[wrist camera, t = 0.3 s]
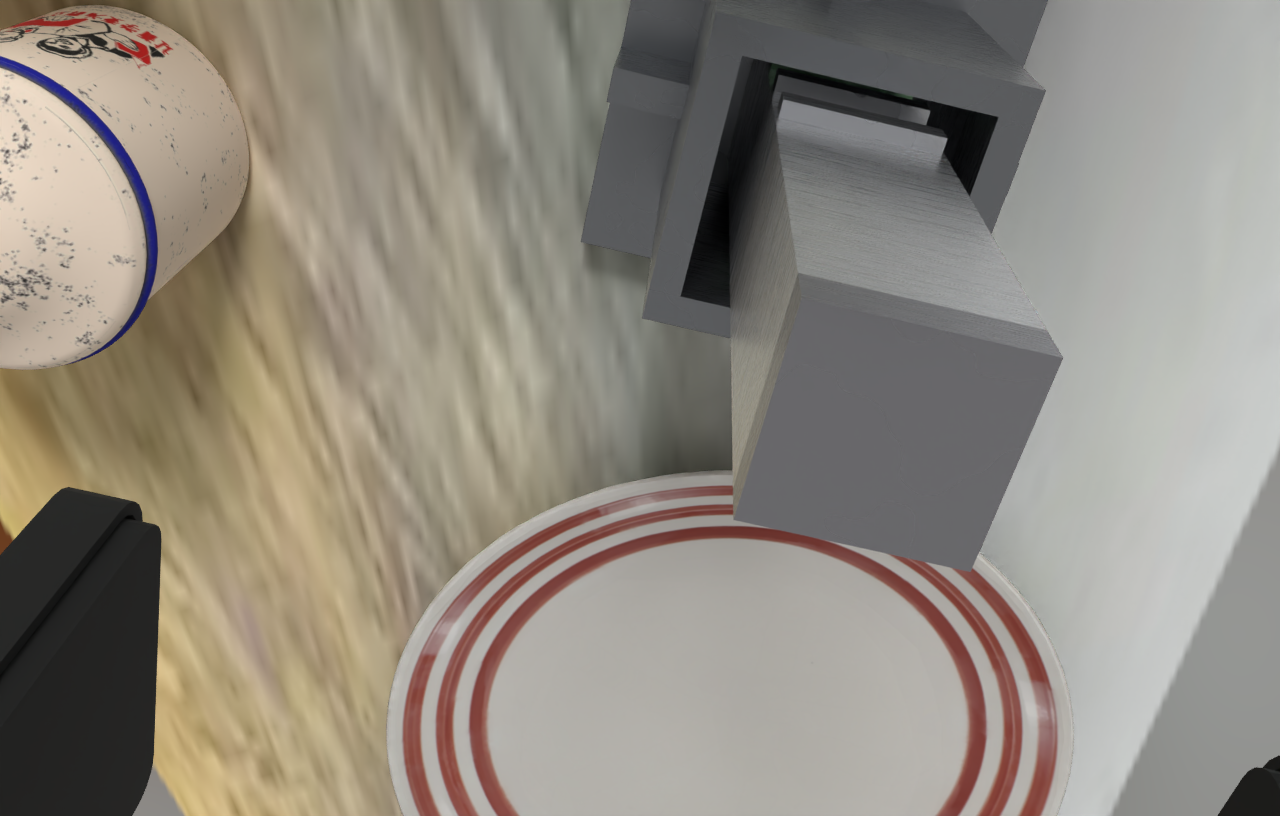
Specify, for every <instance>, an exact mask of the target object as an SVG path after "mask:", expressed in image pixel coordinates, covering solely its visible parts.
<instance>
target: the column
mask: <svg viewBox="0 0 1280 816" xmlns="http://www.w3.org/2000/svg"><path fill="white" fill-rule="evenodd" d="M912 98H913V96H908V95H904V94H900V93H896V92H892V91H888V90H883V89H879V88H875V87H871V86H867V85H862V84H858V83H854V82H850V81H846V80H842V79H837V78H833V77H829V76H825V75H821V74H816V73H812V72H808V71H804V70H800V69H796V68H791V67H787V66H783V65H779V64H775V63H770V62H766V61H762V60H758V59H753V62H752V66H751V70H750V74H749V78H748V82H747V86H746V89H745V93H744V97H743V101H742V105H741V109H740V112H739V116H738V120H737V124H736V128H735V132H734V135H733V139H732V143H731V147H730V151H729V155H728V182H729V188H728V197H729V257H730V321H731V391H732V461H733V520H736V521H741V522H745V523H750V524H754V525H759V526H763V527H768V528H772V529H777V530H782V531H786V532H791V533H795V534H800V535H804V536H809V537H813V538H818V539H822V540H827V541H832V542H836V543H841V544H845V545H850V546H854V547H859V548H863V549H868V550H872V551H877V552H882V553H886V554H891V555H895V556H900V557H904V558H909V559H913V560H918V561H922V562H927V563H932V564H936V565H941V566H945V567H950V568H954V569H959V570H963V571H968V572H971V570H972V567H973V565H974V563H975V560H976V558H977V556H978V554H979V551H980V549H981V547H982V544H983V542H984V540H985V537H986V535H987V533H988V530H989V528H990V526H991V523H992V521H993V519H994V517H995V514H996V512H997V510H998V507H999V505H1000V503H1001V500H1002V498H1003V496H1004V493H1005V491H1006V489H1007V486H1008V484H1009V482H1010V479H1011V477H1012V475H1013V473H1014V470H1015V468H1016V466H1017V463H1018V461H1019V459H1020V456H1021V454H1022V452H1023V449H1024V447H1025V445H1026V442H1027V440H1028V438H1029V436H1030V433H1031V431H1032V429H1033V426H1034V424H1035V422H1036V419H1037V417H1038V415H1039V412H1040V410H1041V408H1042V405H1043V403H1044V401H1045V398H1046V396H1047V394H1048V392H1049V389H1050V387H1051V385H1052V382H1053V380H1054V378H1055V375H1056V373H1057V371H1058V368H1059V366H1060V364H1061V361H1062V359H1063V357H1062V355H1061V353H1060V352H1059V350H1058V348H1057V347H1056V345H1055V343H1054V341H1053V340H1052V338H1051V336H1050V335H1049V333H1048V331H1047V329H1046V328H1045V326H1044V324H1043V322H1042V321H1041V319H1040V317H1039V316H1038V314H1037V312H1036V310H1035V309H1034V307H1033V305H1032V304H1031V302H1030V300H1029V298H1028V297H1027V295H1026V293H1025V292H1024V290H1023V288H1022V286H1021V285H1020V283H1019V281H1018V280H1017V278H1016V276H1015V274H1014V273H1013V271H1012V269H1011V267H1010V266H1009V264H1008V262H1007V261H1006V259H1005V257H1004V255H1003V254H1002V252H1001V250H1000V249H999V247H998V245H997V243H996V242H995V240H994V238H993V237H992V235H991V233H990V231H989V230H988V228H987V226H986V225H985V223H984V221H983V219H982V218H981V216H980V214H979V212H978V211H977V209H976V207H975V206H974V204H973V202H972V200H971V199H970V197H969V195H968V194H967V192H966V190H965V188H964V187H963V185H962V183H961V182H960V180H959V178H958V176H957V175H956V173H955V171H954V169H953V168H952V166H951V164H950V163H949V161H948V159H947V157H946V156H945V154H944V152H943V151H944V148H945V145H946V142H947V139H948V138H947V137H946V135H945V133H944V132H943V130H942V129H939V128H935V127H930V126H928V125H927V120H928V117H929V114H930V109H929V107H928V106H927V104H926V103H924V102H920V101H916V100H913V99H912Z"/></svg>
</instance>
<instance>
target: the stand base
mask: <svg viewBox="0 0 1280 816" xmlns="http://www.w3.org/2000/svg"><path fill="white" fill-rule="evenodd" d="M1047 1H1048V0H631V4H630V8H629V13H628V18H627V23H626V28H625V32H624V37H623V42H622V47H621V49H620V52H619V55H618V57H617V60H616V63H615V66H614V69H613V74H612V79H611V83H610V88H609V93H608V98H607V102H609V103H610V104H609V109H608V114H607V119H606V124H605V128H604V133H603V138H602V143H601V148H600V152H599V157H598V162H597V167H596V172H595V176H594V181H593V186H592V191H591V196H590V201H589V205H588V210H587V215H586V220H585V225H584V229H583V234H582V239H581V242H583V243H587V244H591V245H596V246H600V247H605V248H609V249H613V250H618V251H622V252H626V253H631V254H635V255H639V256H644V257H648V258H651V261H650V268H649V274H648V281H647V288H646V295H645V301H644V308H643V315H642V318H643V319H648V320H652V321H657V322H661V323H665V324H670V325H674V326H679V327H683V328H687V329H692V330H696V331H701V332H705V333H709V334H714V335H718V336H723V337H727V338H731V321H730V257H729V197H728V188H729V182H728V155H729V151H730V147H731V143H732V139H733V135H734V132H735V128H736V124H737V120H738V116H739V112H740V109H741V105H742V101H743V97H744V93H745V89H746V86H747V82H748V78H749V74H750V70H751V66H752V62H753V59H758V60H762V61H766V62H770V63H775V64H779V65H783V66H787V67H791V68H796V69H800V70H804V71H808V72H812V73H816V74H821V75H825V76H829V77H833V78H837V79H842V80H846V81H850V82H854V83H858V84H862V85H867V86H871V87H875V88H879V89H883V90H888V91H892V92H896V93H900V94H904V95H908V96H913V98H912V99H913V100H916V101H920V102H924V103H926V104H927V106H928V107H929V109H930V114H929V117H928V120H927V125H928V126H930V127H935V128H939V129H942V130H943V132H944V133H945V135H946V137H947V138H948V139H947V142H946V145H945V148H944V151H943V152H944V154H945V156H946V157H947V159H948V161H949V163H950V164H951V166H952V168H953V169H954V171H955V173H956V175H957V176H958V178H959V180H960V182H961V183H962V185H963V187H964V188H965V190H966V192H967V194H968V195H969V197H970V199H971V200H972V202H973V204H974V206H975V207H976V209H977V211H978V212H979V214H980V216H981V218H982V219H983V221H984V223H985V225H986V226H987V228H988V230H989V231H990V233H991V234H992V231H993V228H994V226H995V223H996V220H997V218H998V215H999V212H1000V210H1001V207H1002V205H1003V202H1004V199H1005V197H1006V196H1007V194H1008V191H1009V188H1010V186H1011V183H1012V180H1013V178H1014V175H1015V172H1016V170H1017V167H1018V165H1019V163H1018V162H1019V160H1020V157H1021V154H1022V152H1023V149H1024V147H1025V144H1026V141H1027V139H1028V136H1029V133H1030V131H1031V128H1032V125H1033V123H1034V120H1035V118H1036V115H1037V112H1038V110H1039V107H1040V104H1041V102H1042V99H1043V97H1044V94H1045V91H1046V90H1045V89H1044V88H1043V87H1042V86H1040V85H1039V84H1038V83H1037V82H1036V81H1035V80H1034V79H1033V78H1032V77H1031V76H1030V75H1029V74H1028V73H1027V72H1026V71H1025V70H1024V69H1023V66H1024V64H1025V61H1026V58H1027V55H1028V53H1029V50H1030V47H1031V45H1032V42H1033V39H1034V36H1035V34H1036V31H1037V28H1038V25H1039V23H1040V20H1041V17H1042V15H1043V12H1044V9H1045V6H1046V4H1047Z"/></svg>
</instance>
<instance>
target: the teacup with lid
mask: <svg viewBox="0 0 1280 816" xmlns="http://www.w3.org/2000/svg"><path fill="white" fill-rule="evenodd" d="M248 172H249V148H248V140H247V135H246V130H245V126H244V123H243V119H242V116H241V113H240V111H239V108H238V106H237V103H236V101H235V99H234V97H233V95H232V93H231V91H230V89H229V88H228V86H227V85H226V83H225V81H224V80H223V78H222V77H221V76H220V74H219V73H218V71H217V70H216V69H215V67H214V66H213V65H212V64H211V63H210V62H209V61H208V59H207V58H206V57H205V56H204V55H203V54H202V53H201V52H200V51H199V50H198V49H197V48H196V47H195V46H193V45H192V44H191V43H190V42H189V41H187V40H186V39H185V38H184V37H182V36H181V35H179V34H178V33H176V32H175V31H174V30H172V29H170V28H169V27H167V26H165V25H164V24H162V23H160V22H158V21H156V20H154V19H152V18H150V17H147V16H145V15H142V14H139V13H137V12H134V11H130V10H126V9H123V8H118V7H112V6H103V5H82V6H74V7H67V8H63V9H60V10H56V11H53V12H50V13H47V14H45V15H42V16H39V17H36V18H33V19H31V20H28V21H25V22H22V23H19V24H17V25H14V26H11V27H8V28H5V29H3V30H0V368H5V369H19V370H35V369H45V368H52V367H57V366H62V365H66V364H71V363H74V362H77V361H80V360H83V359H86V358H88V357H91V356H93V355H95V354H97V353H99V352H101V351H102V350H104V349H106V348H107V347H109V346H110V345H112V344H113V343H114V342H115V341H117V340H118V339H119V338H120V337H122V336H123V334H124V333H125V332H126V331H127V330H128V329H129V328H130V327H131V326H132V325H133V323H134V322H135V321H136V319H137V318H138V317H139V315H140V313H141V312H142V310H143V308H144V307H145V305H146V303H147V301H148V300H149V299H150V298H151V297H152V296H153V295H154V294H155V293H156V292H157V291H158V290H160V289H161V288H162V287H163V286H164V285H165V284H166V283H167V282H168V281H169V280H170V279H171V278H173V277H174V276H175V275H176V274H177V273H178V272H179V271H180V270H181V269H182V268H183V267H185V266H186V265H187V264H188V263H189V262H190V261H191V260H192V259H193V258H194V257H195V256H197V255H198V254H199V253H200V252H201V251H202V250H203V249H204V248H205V247H206V246H207V245H209V244H210V243H211V242H212V241H213V240H214V239H215V238H216V237H217V236H218V235H219V234H220V233H221V232H222V231H223V230H224V229H225V228H226V226H227V225H228V224H229V223H230V221H231V220H232V218H233V217H234V215H235V213H236V211H237V210H238V208H239V205H240V203H241V201H242V199H243V195H244V192H245V189H246V185H247V180H248Z"/></svg>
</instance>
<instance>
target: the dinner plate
mask: <svg viewBox="0 0 1280 816" xmlns="http://www.w3.org/2000/svg"><path fill="white" fill-rule="evenodd" d="M386 734H387V755H388V763H389V770H390V774H391V778H392V782H393V786H394V790H395V794H396V797H397V800H398V803H399V806H400V809H401V811H402V814H403V816H1057V814H1058V812H1059V809H1060V806H1061V803H1062V800H1063V797H1064V794H1065V791H1066V787H1067V783H1068V780H1069V776H1070V771H1071V764H1072V757H1073V745H1074V727H1073V713H1072V707H1071V700H1070V695H1069V691H1068V687H1067V683H1066V679H1065V675H1064V671H1063V669H1062V666H1061V664H1060V661H1059V659H1058V656H1057V654H1056V651H1055V649H1054V647H1053V644H1052V642H1051V640H1050V638H1049V636H1048V635H1047V633H1046V631H1045V629H1044V627H1043V625H1042V623H1041V622H1040V620H1039V618H1038V617H1037V615H1036V614H1035V612H1034V611H1033V609H1032V608H1031V607H1030V605H1029V604H1028V603H1027V601H1026V600H1025V599H1024V597H1023V596H1022V595H1021V594H1020V592H1019V591H1018V590H1017V589H1016V588H1015V587H1014V585H1013V584H1012V583H1011V582H1010V581H1009V580H1008V579H1007V578H1006V577H1005V576H1004V575H1003V574H1002V573H1001V572H1000V571H999V570H998V569H997V568H996V567H995V566H994V565H993V564H992V563H991V562H989V561H988V560H987V559H986V558H985V557H984V556H983V555H982V554H980V553H979V554H978V556H977V558H976V560H975V563H974V565H973V567H972V570H971V572H968V571H963V570H959V569H954V568H950V567H945V566H941V565H936V564H932V563H927V562H922V561H918V560H913V559H909V558H904V557H900V556H895V555H891V554H886V553H882V552H877V551H872V550H868V549H863V548H859V547H854V546H850V545H845V544H841V543H836V542H832V541H827V540H822V539H818V538H813V537H809V536H804V535H800V534H795V533H791V532H786V531H782V530H777V529H772V528H768V527H763V526H759V525H754V524H750V523H745V522H741V521H736V520H733V470H720V471H699V472H686V473H678V474H670V475H663V476H657V477H652V478H646V479H641V480H636V481H631V482H627V483H622V484H618V485H614V486H610V487H607V488H603V489H600V490H597V491H595V492H592V493H589V494H586V495H583V496H580V497H578V498H575V499H572V500H570V501H568V502H565V503H563V504H560V505H558V506H555V507H553V508H551V509H549V510H547V511H544V512H542V513H540V514H538V515H536V516H535V517H533V518H531V519H530V520H528V521H526V522H524V523H522V524H520V525H518V526H516V527H515V528H513V529H512V530H510V531H509V532H507V533H505V534H504V535H502V536H501V537H499V538H498V539H497V540H495V541H494V542H493V543H491V544H490V545H489V546H488V547H486V548H485V549H484V550H482V551H481V552H480V553H479V554H477V555H476V556H475V557H473V558H472V559H471V560H469V561H468V562H467V563H466V564H465V565H464V566H463V567H462V568H461V569H460V570H459V571H458V572H457V573H456V574H455V575H454V576H453V577H452V578H451V579H450V580H449V581H448V582H447V583H446V585H445V586H444V587H443V588H442V589H441V590H440V592H439V593H438V594H437V595H436V596H435V598H434V599H433V600H432V602H431V603H430V604H429V606H428V607H427V609H426V610H425V612H424V614H423V615H422V617H421V618H420V620H419V622H418V623H417V625H416V626H415V628H414V630H413V631H412V633H411V635H410V637H409V639H408V641H407V643H406V646H405V648H404V651H403V653H402V656H401V658H400V660H399V663H398V666H397V669H396V672H395V675H394V679H393V683H392V687H391V691H390V697H389V702H388V712H387V724H386Z"/></svg>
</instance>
